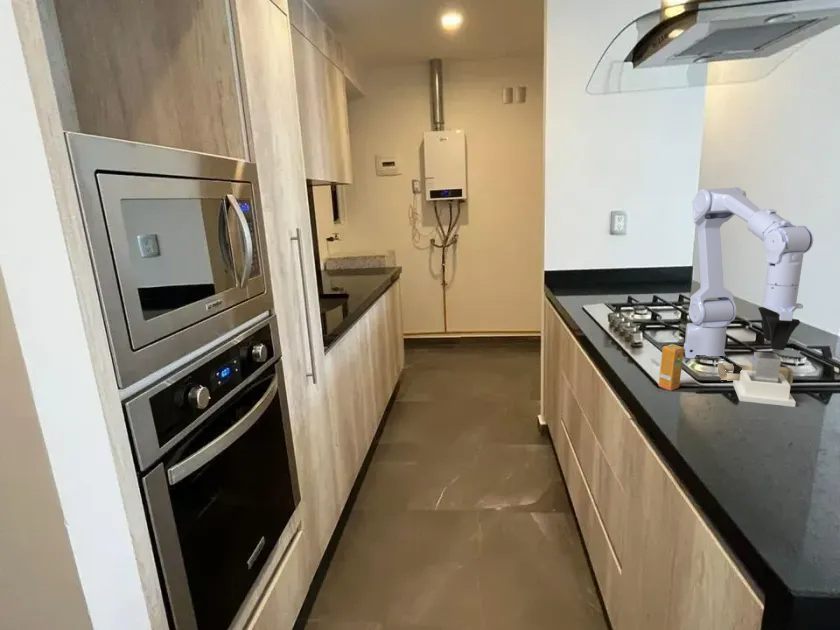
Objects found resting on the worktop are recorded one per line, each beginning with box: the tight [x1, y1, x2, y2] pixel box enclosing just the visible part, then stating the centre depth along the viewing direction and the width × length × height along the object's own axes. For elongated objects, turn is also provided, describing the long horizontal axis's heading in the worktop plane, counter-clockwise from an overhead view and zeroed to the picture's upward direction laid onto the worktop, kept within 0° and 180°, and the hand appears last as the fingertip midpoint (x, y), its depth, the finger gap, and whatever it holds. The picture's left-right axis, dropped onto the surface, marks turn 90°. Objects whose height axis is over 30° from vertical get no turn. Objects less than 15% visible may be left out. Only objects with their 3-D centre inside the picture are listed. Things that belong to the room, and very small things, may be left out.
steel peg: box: [751, 351, 782, 383], centre depth 103 cm, size 4×4×8 cm
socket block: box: [716, 362, 753, 381], centre depth 114 cm, size 8×8×2 cm
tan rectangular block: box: [779, 366, 795, 385], centre depth 111 cm, size 5×2×3 cm, turn 65°
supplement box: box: [658, 343, 685, 391], centre depth 110 cm, size 3×3×10 cm
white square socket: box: [732, 370, 797, 408], centre depth 104 cm, size 10×10×4 cm
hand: (773, 344), depth 106 cm, fingers open, 7 cm apart
